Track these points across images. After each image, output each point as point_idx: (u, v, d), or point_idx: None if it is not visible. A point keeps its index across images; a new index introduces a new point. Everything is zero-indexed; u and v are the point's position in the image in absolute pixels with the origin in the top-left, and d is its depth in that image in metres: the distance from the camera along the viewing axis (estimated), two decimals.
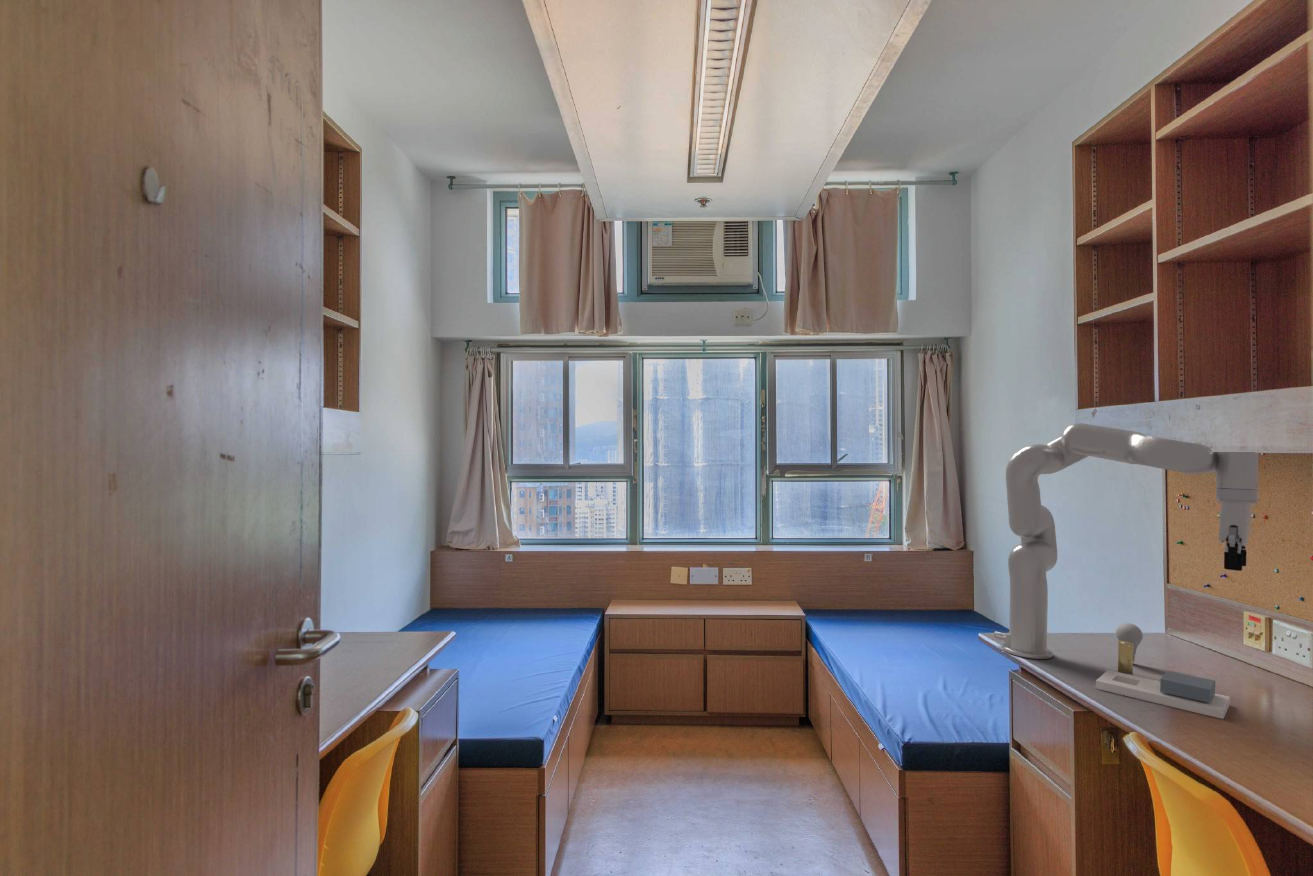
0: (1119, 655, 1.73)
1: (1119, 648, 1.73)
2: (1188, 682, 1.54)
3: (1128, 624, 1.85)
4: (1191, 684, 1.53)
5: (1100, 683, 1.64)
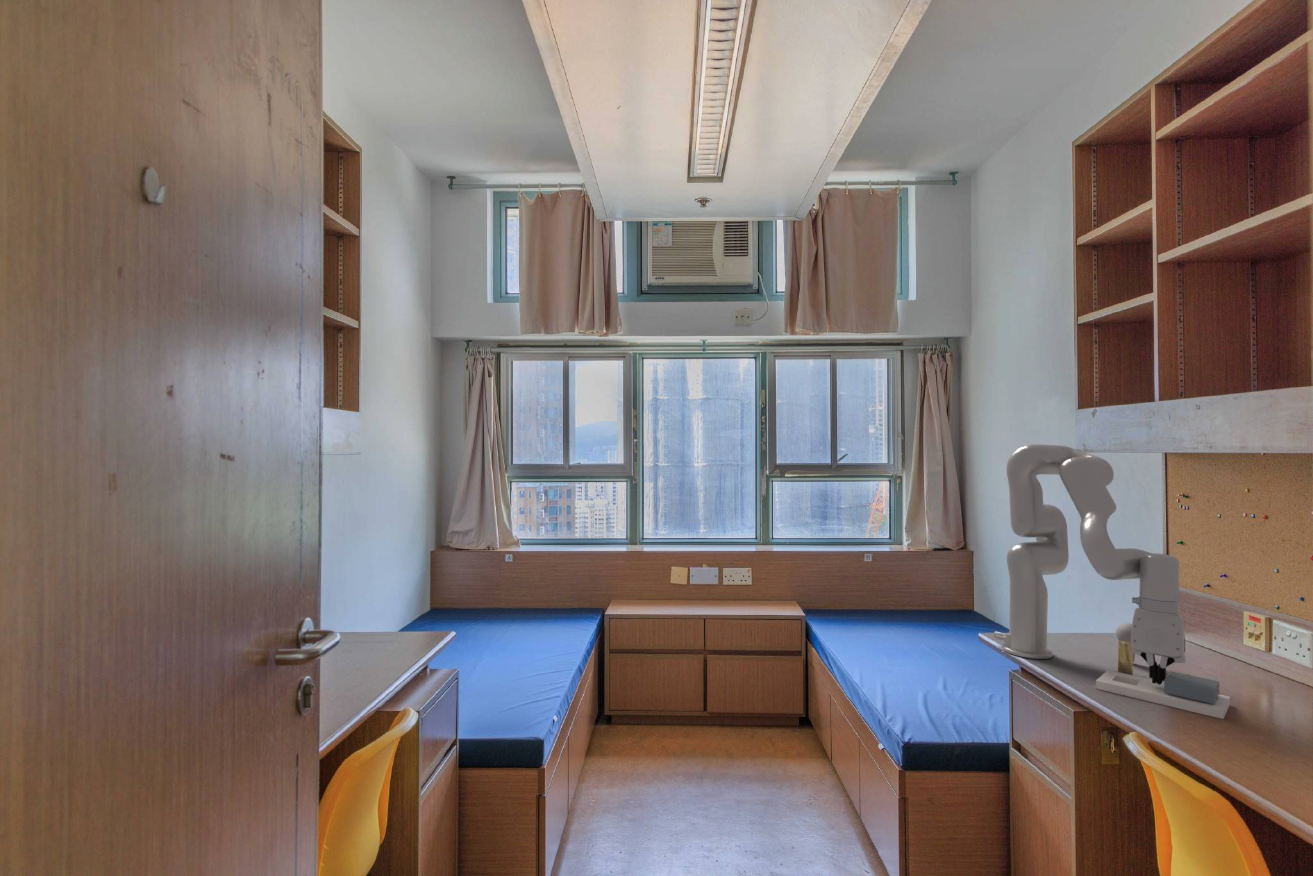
0: (1119, 655, 1.73)
1: (1119, 648, 1.73)
2: (1192, 683, 1.54)
3: (1128, 624, 1.85)
4: (1195, 685, 1.53)
5: (1100, 683, 1.64)
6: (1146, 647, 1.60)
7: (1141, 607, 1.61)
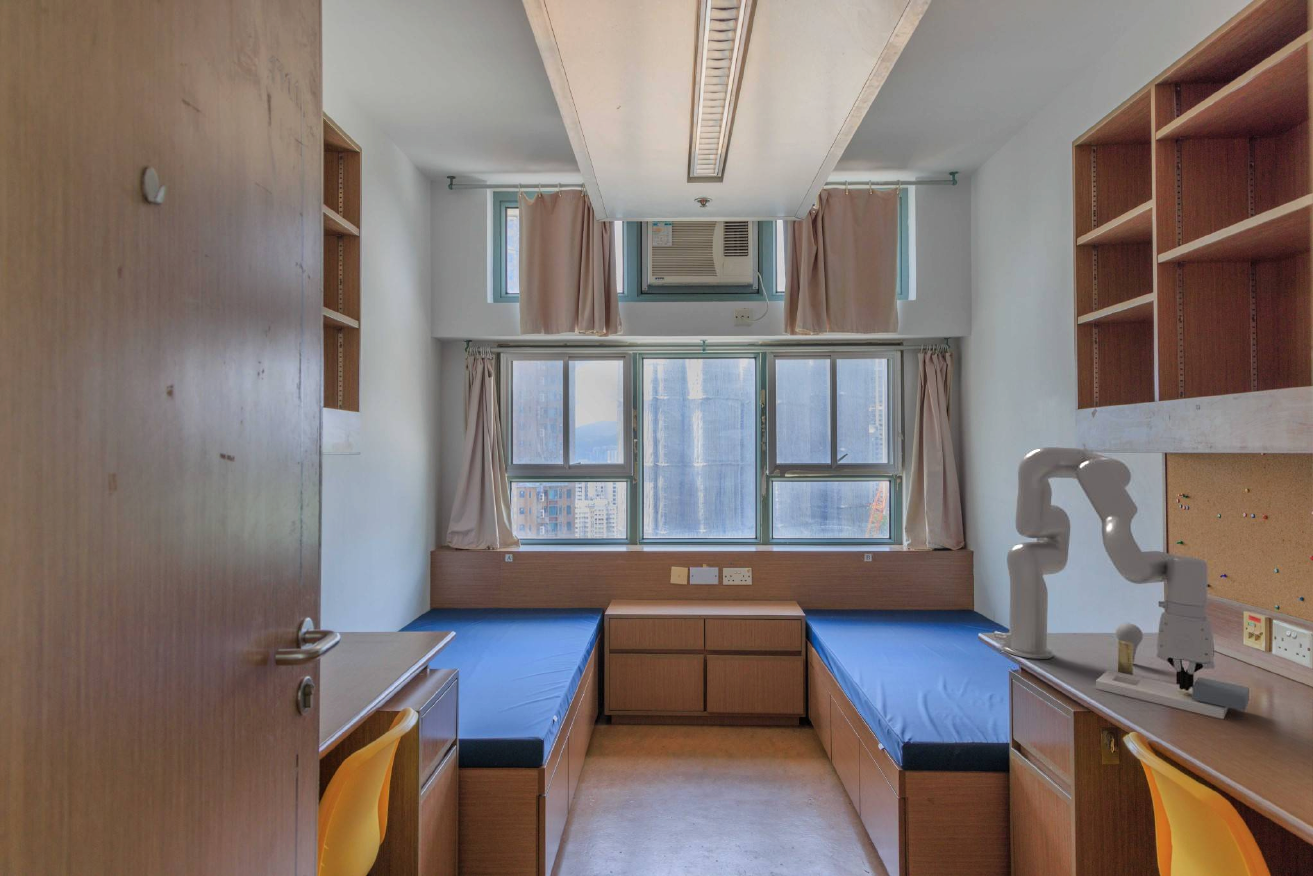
0: (1119, 655, 1.73)
1: (1119, 648, 1.73)
2: (1221, 689, 1.50)
3: (1128, 624, 1.85)
4: (1225, 691, 1.49)
5: (1100, 683, 1.64)
6: (1173, 652, 1.56)
7: (1168, 611, 1.57)
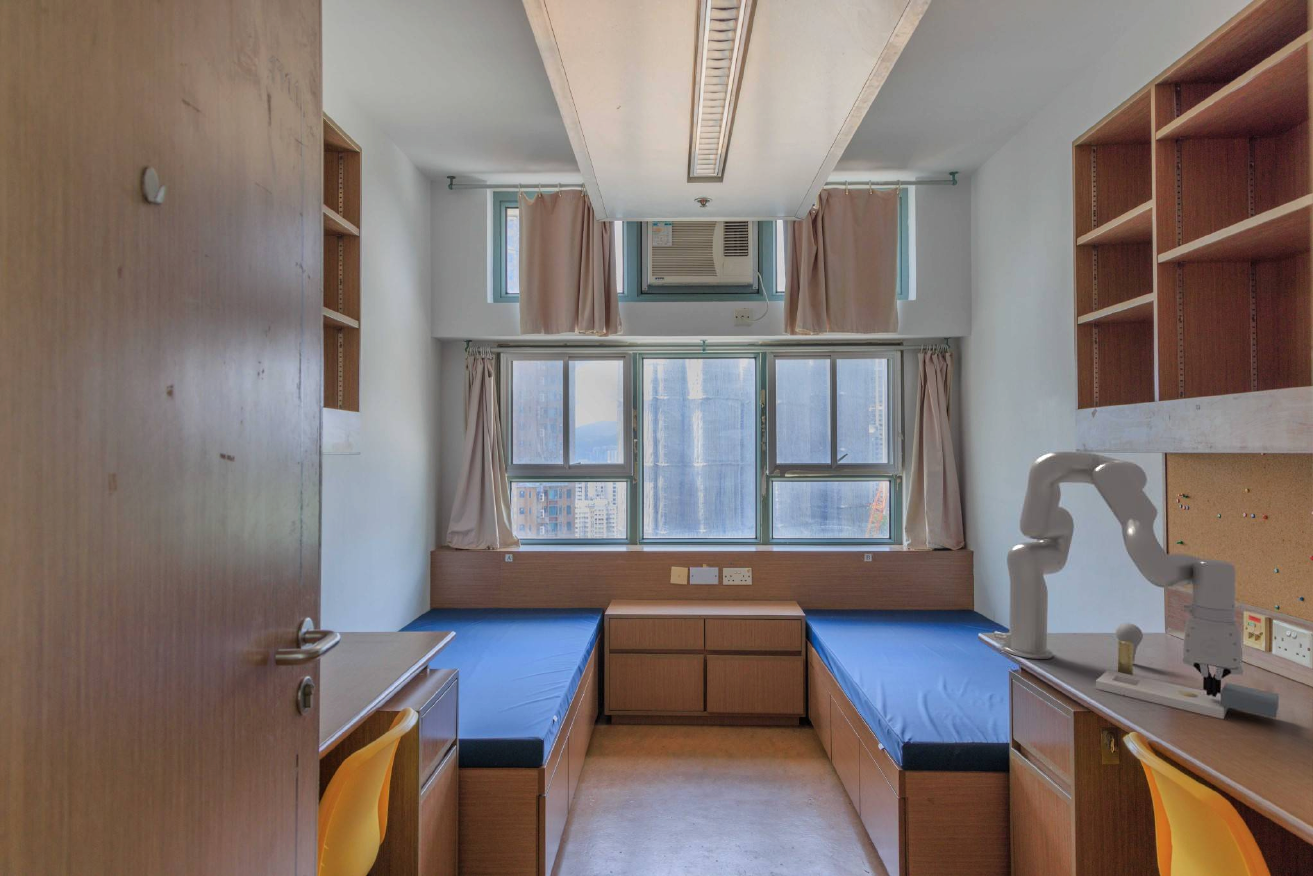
0: (1119, 655, 1.73)
1: (1119, 648, 1.73)
2: (1251, 696, 1.47)
3: (1128, 624, 1.85)
4: (1254, 698, 1.45)
5: (1100, 683, 1.64)
6: (1200, 657, 1.53)
7: (1195, 615, 1.54)
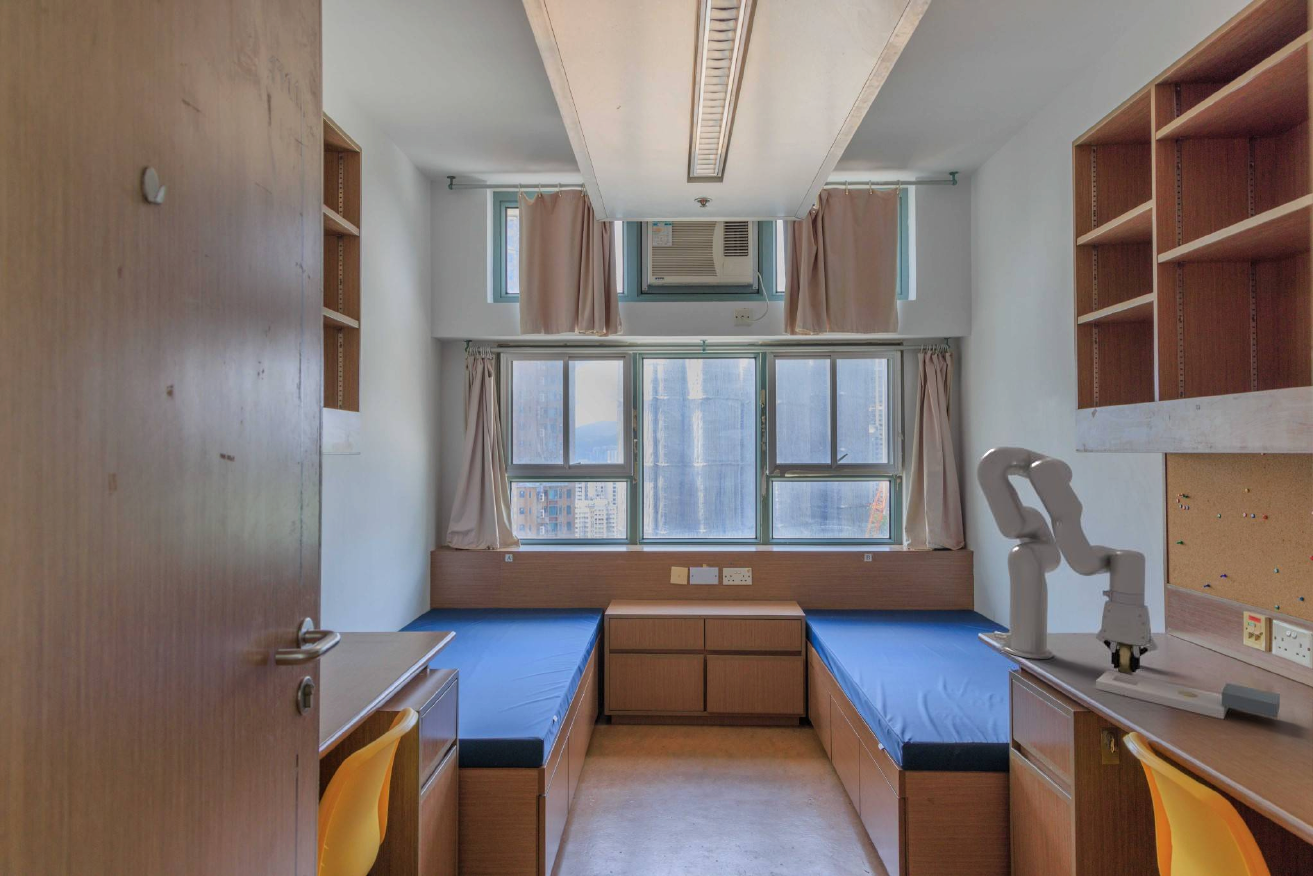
0: (1119, 655, 1.73)
1: (1119, 648, 1.73)
2: (1252, 696, 1.47)
3: None
4: (1255, 698, 1.45)
5: (1100, 683, 1.64)
6: (1114, 636, 1.73)
7: (1110, 599, 1.74)
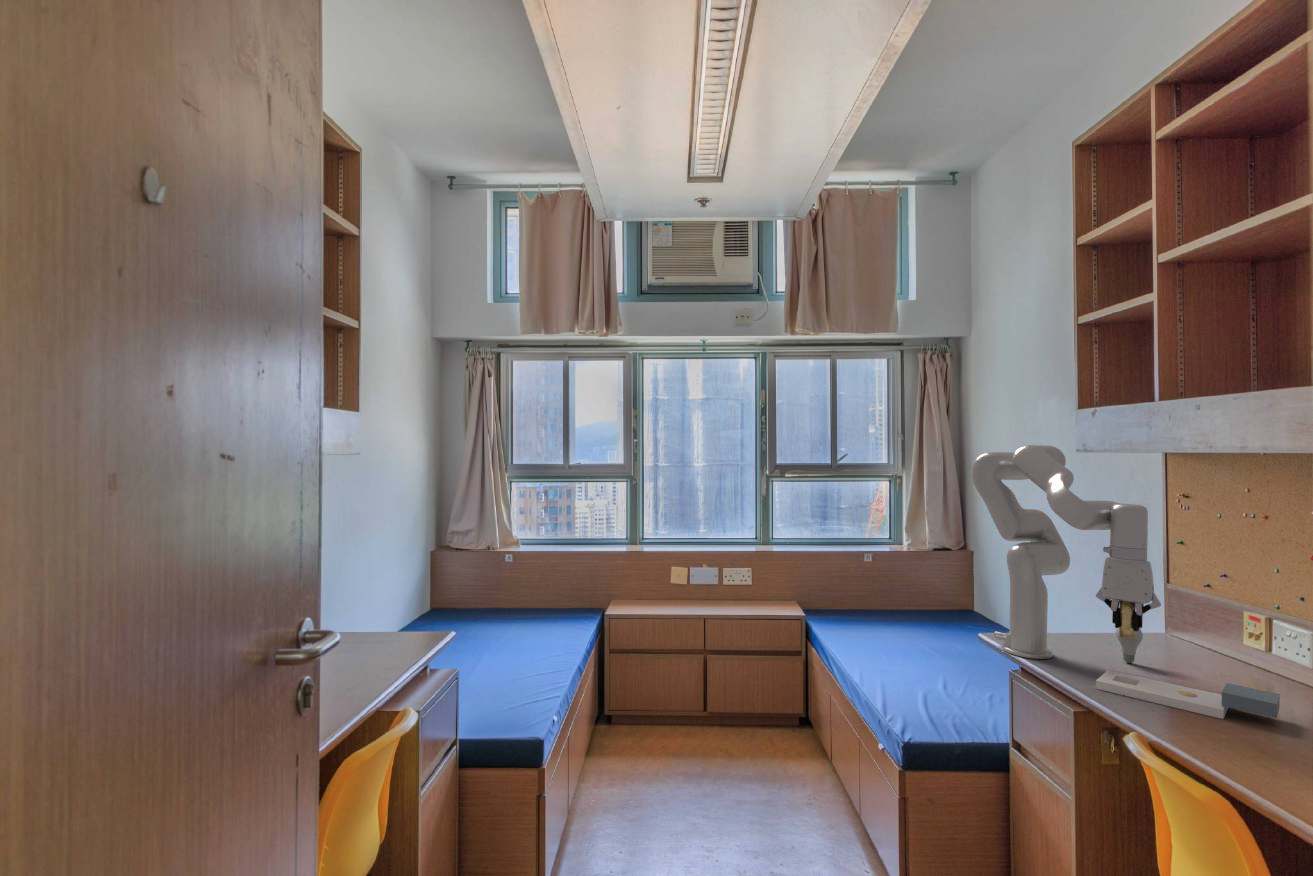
0: (1121, 614, 1.65)
1: (1121, 606, 1.65)
2: (1252, 696, 1.47)
3: None
4: (1255, 698, 1.45)
5: (1100, 683, 1.64)
6: (1116, 594, 1.64)
7: (1111, 555, 1.66)
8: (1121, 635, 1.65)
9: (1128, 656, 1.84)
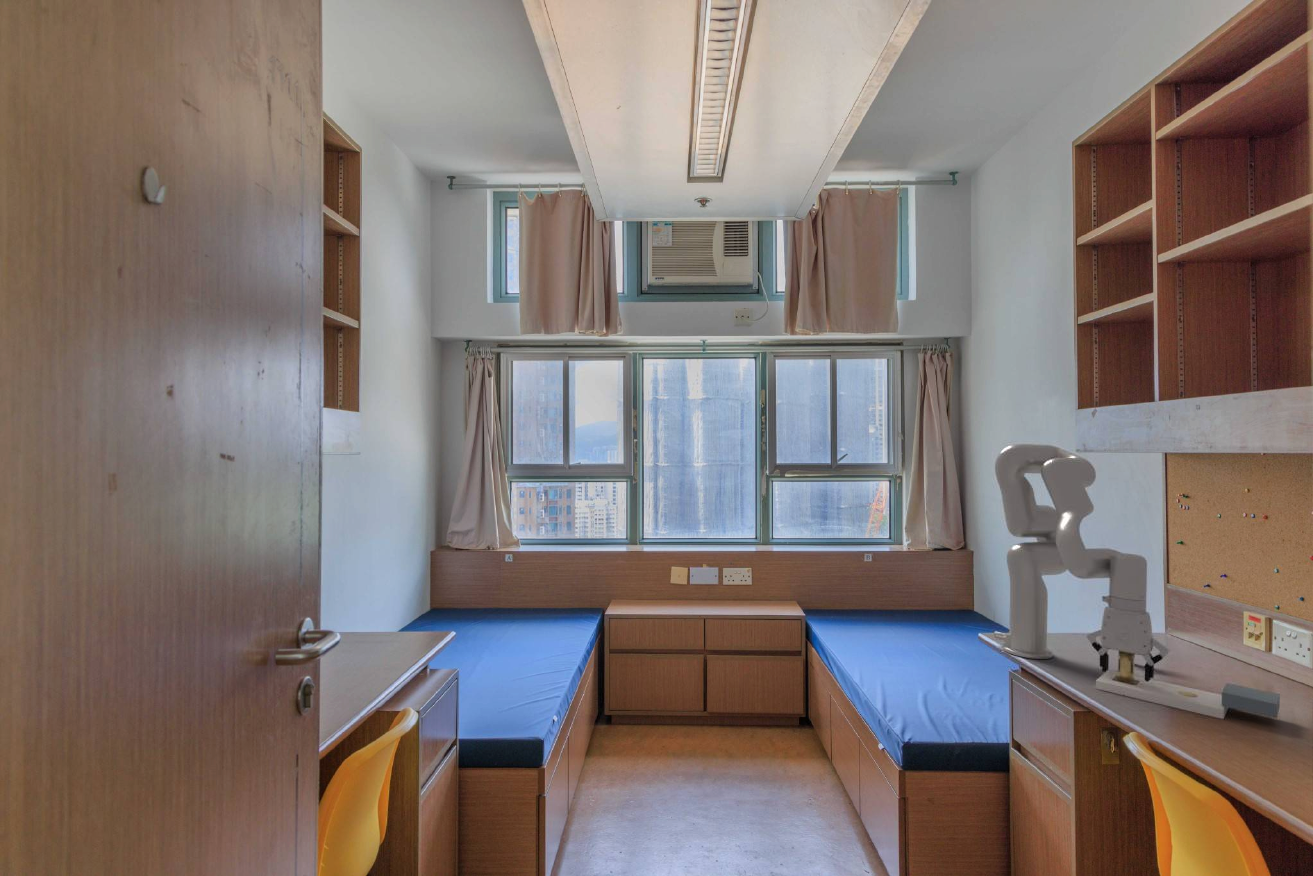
0: (1119, 665, 1.65)
1: (1119, 658, 1.65)
2: (1252, 696, 1.47)
3: None
4: (1255, 698, 1.45)
5: (1100, 683, 1.64)
6: (1114, 644, 1.64)
7: (1110, 605, 1.66)
8: None
9: None
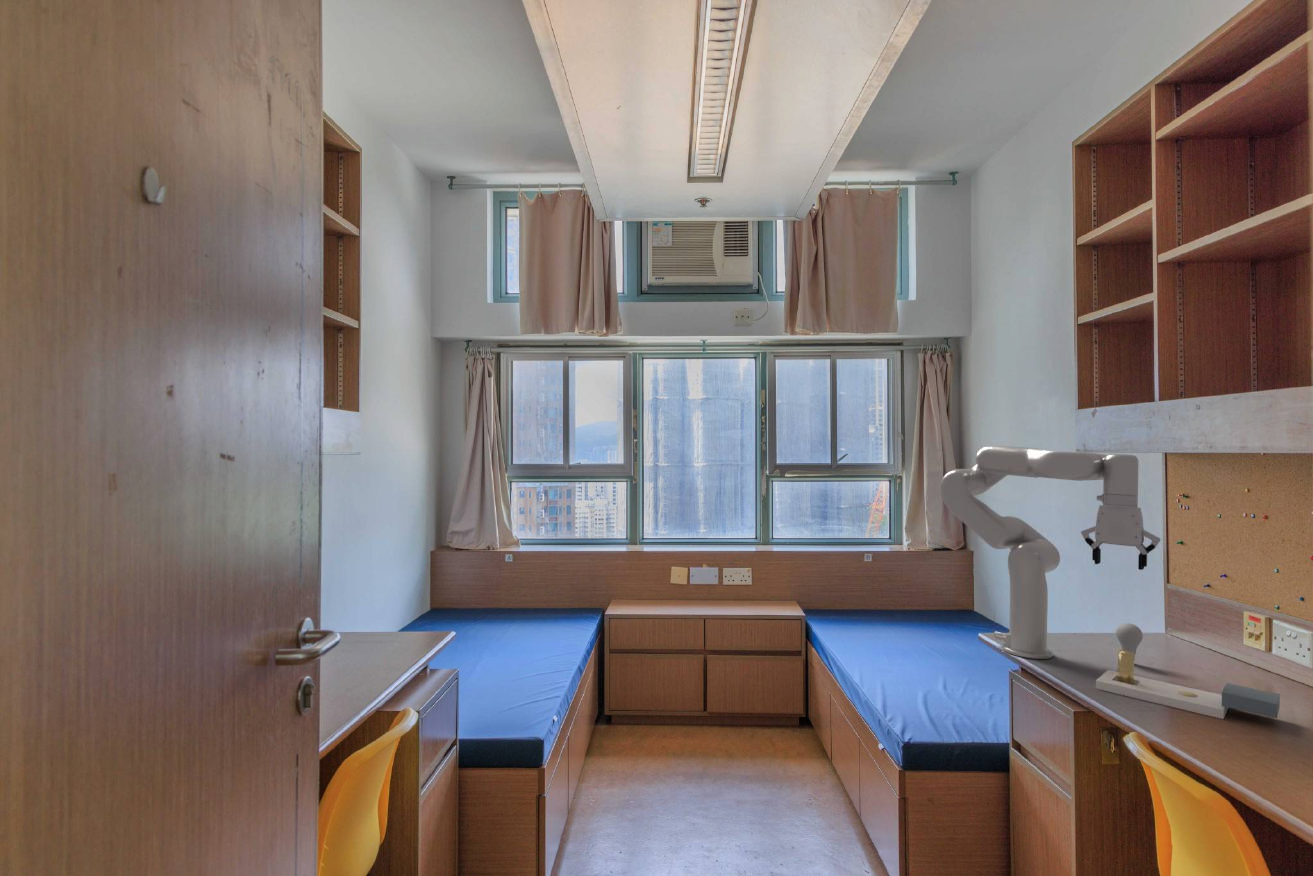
0: (1119, 665, 1.65)
1: (1119, 658, 1.65)
2: (1252, 696, 1.47)
3: (1128, 624, 1.85)
4: (1255, 698, 1.45)
5: (1100, 683, 1.64)
6: (1108, 538, 1.75)
7: (1104, 503, 1.76)
8: None
9: None
